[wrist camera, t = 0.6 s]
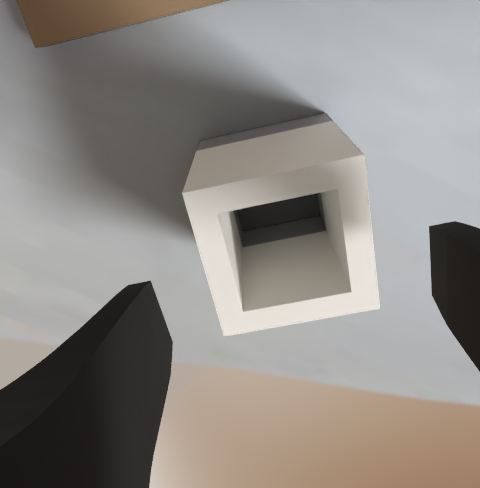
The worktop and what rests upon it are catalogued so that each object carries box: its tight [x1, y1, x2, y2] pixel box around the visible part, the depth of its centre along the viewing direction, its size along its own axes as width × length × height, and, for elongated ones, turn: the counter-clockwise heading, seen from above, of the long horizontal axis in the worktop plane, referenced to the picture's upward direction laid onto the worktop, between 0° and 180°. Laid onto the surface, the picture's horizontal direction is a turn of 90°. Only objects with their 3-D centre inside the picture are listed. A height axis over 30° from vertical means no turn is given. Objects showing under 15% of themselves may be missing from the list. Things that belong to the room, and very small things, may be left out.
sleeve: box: [182, 113, 380, 336], centre depth 16 cm, size 5×5×6 cm
